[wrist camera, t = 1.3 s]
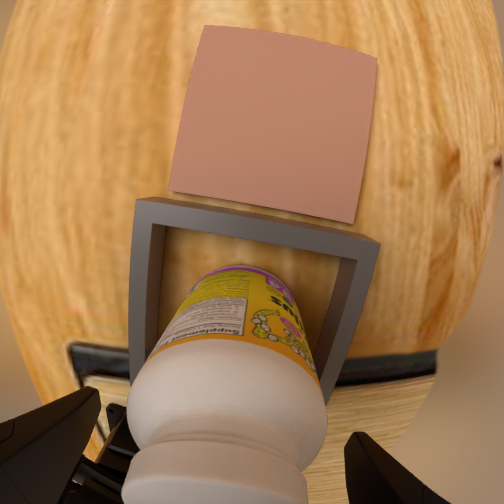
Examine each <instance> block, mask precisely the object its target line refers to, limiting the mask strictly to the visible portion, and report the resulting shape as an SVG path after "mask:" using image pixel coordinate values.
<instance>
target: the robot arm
mask: <svg viewBox="0 0 504 504" xmlns="http://www.w3.org/2000/svg"><path fill="white" fill-rule="evenodd" d="M100 411H101V401H100V395H99V391H98V389H96V388H93V387H90V386H86V387H84V388H82V389H80V390H77V391H75V392H73V393H71V394H69V395H66V396H64V397H62V398H60V399H57V400H55V401H53V402H51V403H48V404H46V405H44V406H41V407H39V408H37V409H35V410H32V411H30V412H28V413H25V414H23V415H20V416H18V417H15V419H14V418H13V419H10V420H8V421H5V422H3V423H0V504H124V502H123V500H122V496H121V491H122V487H123V484H124V482H125V479H126V476H127V473H128V470H129V467H130V463H131V460H132V459H133V457H134V456H135V455H136V454H137V453H138V452H139V451H140V449H139V447H138V446H137V444H136V442H135V441H134V439H133V437H132V434H131V432H130V429H129V425H128V421H127V410H126V408H122V407H119V406H116V405H113V404H108V406H107V407H106V413H107V418H108V423H109V428H110V434H109V436H108V438H107V440H106V442H105V444H104V446H103V447H102V449H101V451H100V453H99V455H98V457H97V459H96V461H95V463H94V462H93V461H91V460H89V459H88V458H86V457H85V455H84V454H82V453H83V451H84V450H85V448H86V446H87V444H88V442H89V439H90V437H91V434H92V431H93V429H94V426H95V423H96V421H97V418H98V416H99V413H100ZM344 459H345V476H346V487H347V493H348V499H349V504H451V503H450V502H447V501H446V500H445V499H443V498H442V497H440V496H439V495H438V494H436V493H435V492H434V491H432V490H431V489H430V488H428V487H427V486H426V485H425V484H423V483H422V482H421V481H420V480H419V479H418V478H416V477H415V476H414V475H413V474H412V473H411V472H409V471H408V470H407V469H406V468H405V467H404V466H402V465H401V464H400V463H399V462H398V461H397V460H396V459H394V458H393V457H392V456H391V455H390V454H389V453H388V452H386V451H385V450H384V449H383V448H382V447H381V446H380V445H379V444H377V443H376V442H375V441H374V440H373V439H372V438H371V437H370V436H369V435H368V434H366V433H365V432H353V433H352V435H351V436H350V438H349V440H348V442H347V443H346V445H345V447H344ZM73 480H75V481H77V482H78V483H80V484H81V485H80V484H78V483H75V482H73Z"/></svg>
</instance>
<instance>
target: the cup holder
mask: <svg viewBox="0 0 504 504" xmlns="http://www.w3.org/2000/svg"><path fill="white" fill-rule="evenodd" d="M166 226H173V227H179V228H184V229H190V230H196V231H202V232H207V233H213V234H219V235H225V236H230V237H236V238H241V239H247V240H253V241H258V242H264V243H269V244H275V245H280V246H286V247H291V248H297V249H302V250H308V251H313V252H318V253H324V254H329V255H334V256H340V257H342V259H341V263H340V267H339V271H338V275H337V279H336V283H335V287H334V290H333V294H332V298H331V301H330V305H329V308H328V312H327V315H326V319H325V322H324V325H323V329H322V332H321V335H320V338H319V342H318V345H317V348H316V351H315V354H314V357H313V363H314V366H315V370H316V373H317V377H318V380H319V383H320V387H321V390H322V394H323V398H324V403H325V407H326V405H327V402H328V400H329V398H330V395H331V393H332V391H333V388H334V386H335V383H336V381H337V379H338V376H339V373H340V371H341V368H342V366H343V363H344V361H345V358H346V355H347V353H348V350H349V347H350V344H351V341H352V339H353V336H354V333H355V330H356V327H357V324H358V321H359V318H360V315H361V312H362V309H363V305H364V302H365V299H366V296H367V292H368V289H369V286H370V282H371V279H372V275H373V271H374V268H375V264H376V260H377V256H378V252H379V248H380V243H378V242H376V241H375V240H373V239H371V238H369V237H367V236H365V235H362V234H357V233H353V232H348V231H343V230H339V229H334V228H329V227H324V226H319V225H314V224H309V223H304V222H299V221H294V220H289V219H283V218H278V217H273V216H267V215H262V214H256V213H251V212H245V211H239V210H233V209H228V208H222V207H216V206H210V205H204V204H197V203H191V202H185V201H178V200H172V199H165V198H158V197H149V198H143V199H136V204H135V213H134V222H133V233H132V245H131V259H130V277H129V312H128V332H129V367H130V385H131V386H132V384H133V382H134V380H135V379H136V377H137V375H138V373H139V371H140V370H141V368H142V366H143V365H144V364H145V362H146V360H147V359H148V357H149V355H150V354H151V352H152V351H153V349H154V347H155V346H156V344H157V337H158V316H159V300H160V286H161V274H162V263H163V253H164V243H165V234H166Z"/></svg>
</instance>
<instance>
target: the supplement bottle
mask: <svg viewBox="0 0 504 504" xmlns="http://www.w3.org/2000/svg"><path fill="white" fill-rule="evenodd" d="M126 410H127V421H128V425H129V429H130V432H131V434H132V437H133V439H134V441H135V442H136V444H137V446H138V447H139V449H140V451H139V452H138V453H137V454H136V455H135V456H134V457H133V459H132V460H131V463H130V467H129V470H128V473H127V476H126V479H125V482H124V484H123V487H122V491H121V496H122V500H123V502H124V504H308V495H307V483H306V480H305V478H304V476H303V475H302V473H301V472H302V471H303V470H304V469H306V468H307V467H308V466H309V465H310V464H311V462H312V461H313V460H314V459H315V457H316V456H317V455H318V453H319V451H320V449H321V447H322V445H323V443H324V440H325V436H326V432H327V412H326V407H325V403H324V398H323V394H322V390H321V387H320V383H319V380H318V377H317V373H316V370H315V366H314V363H313V359H312V355H311V351H310V348H309V344H308V341H307V337H306V334H305V330H304V326H303V323H302V320H301V317H300V313H299V310H298V307H297V305H296V302H295V299H294V297H293V295H292V294H291V292H290V291H289V289H288V288H287V287H286V285H285V284H284V283H283V282H282V281H280V280H279V279H278V278H277V277H275V276H274V275H272V274H271V273H269V272H267V271H265V270H262V269H260V268H257V267H252V266H246V265H232V266H226V267H223V268H220V269H217V270H214V271H212V272H210V273H208V274H207V275H205V276H204V277H203V278H201V279H200V280H199V281H198V282H197V283H196V284H195V285H194V287H193V288H192V289H191V290H190V292H189V293H188V295H187V296H186V298H185V299H184V301H183V303H182V304H181V306H180V307H179V309H178V311H177V312H176V314H175V315H174V317H173V319H172V320H171V322H170V323H169V325H168V326H167V328H166V330H165V331H164V333H163V334H162V336H161V338H160V340H159V341H158V343H157V344H156V346H155V347H154V349H153V351H152V352H151V354H150V355H149V357H148V359H147V360H146V362H145V364H144V365H143V366H142V368H141V370H140V371H139V373H138V375H137V377H136V379H135V380H134V382H133V384H132V386H131V389H130V392H129V395H128V399H127V409H126Z"/></svg>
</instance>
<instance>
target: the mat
mask: <svg viewBox="0 0 504 504" xmlns="http://www.w3.org/2000/svg"><path fill="white" fill-rule="evenodd" d="M376 70H377V58H376V57H373V56H370V55H367V54H364V53H361V52H357V51H354V50H351V49H347V48H344V47H340V46H337V45H333V44H329V43H325V42H321V41H317V40H313V39H308V38H304V37H299V36H294V35H289V34H283V33H277V32H271V31H264V30H257V29H248V28H239V27H228V26H212V25H204V29H203V32H202V35H201V39H200V42H199V46H198V49H197V53H196V57H195V61H194V64H193V68H192V72H191V76H190V80H189V85H188V89H187V93H186V97H185V102H184V106H183V111H182V116H181V121H180V125H179V130H178V136H177V141H176V146H175V152H174V157H173V163H172V169H171V175H170V182H169V188H168V191H174V192H181V193H188V194H194V195H201V196H207V197H213V198H219V199H225V200H231V201H237V202H243V203H249V204H254V205H260V206H265V207H271V208H276V209H281V210H287V211H292V212H297V213H302V214H307V215H312V216H317V217H322V218H326V219H331V220H336V221H341V222H345V223H350V224H353V223H354V218H355V213H356V208H357V203H358V198H359V193H360V188H361V183H362V177H363V171H364V166H365V160H366V153H367V147H368V140H369V133H370V126H371V118H372V110H373V101H374V92H375V82H376Z"/></svg>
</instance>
